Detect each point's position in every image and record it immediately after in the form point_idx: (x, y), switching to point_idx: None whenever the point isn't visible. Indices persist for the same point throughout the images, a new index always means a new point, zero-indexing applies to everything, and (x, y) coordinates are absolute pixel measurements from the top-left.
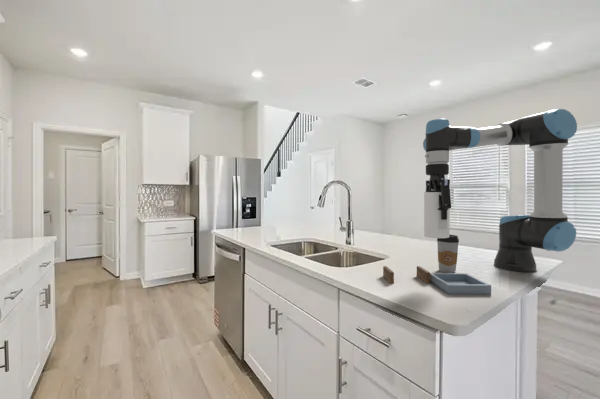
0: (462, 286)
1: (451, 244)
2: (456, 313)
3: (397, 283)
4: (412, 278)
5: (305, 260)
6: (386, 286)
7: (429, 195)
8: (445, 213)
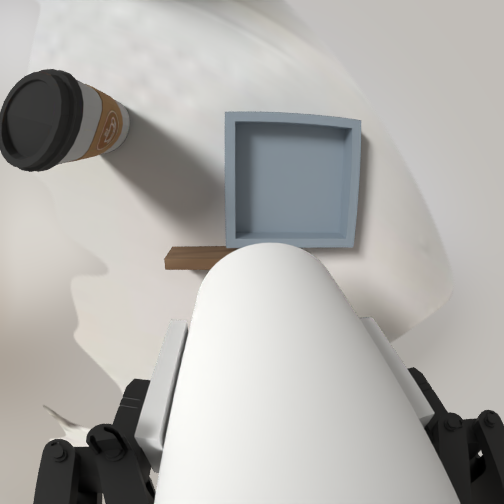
0: (355, 206)
1: (85, 116)
2: (428, 275)
3: None
4: (197, 276)
5: None
6: None
7: None
8: (433, 406)
